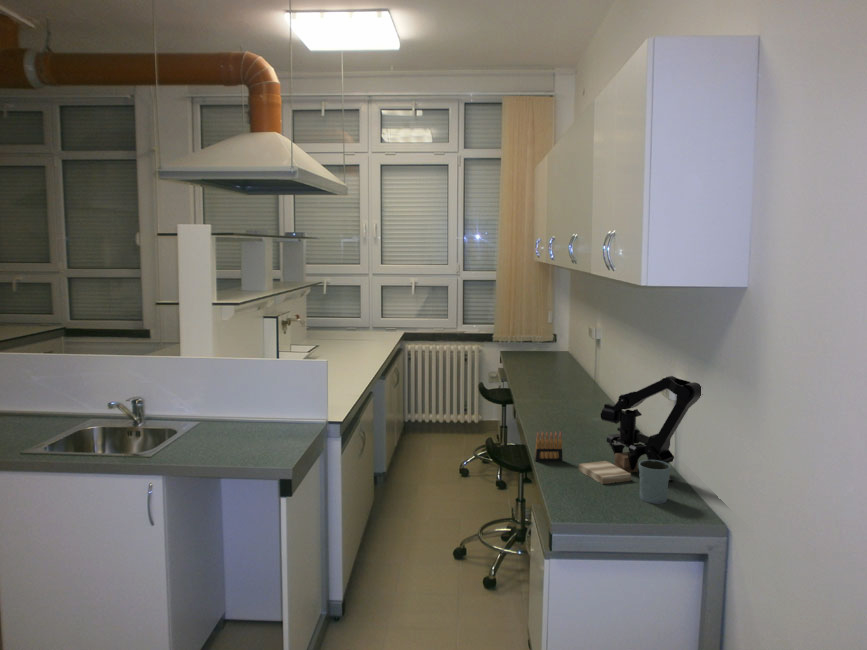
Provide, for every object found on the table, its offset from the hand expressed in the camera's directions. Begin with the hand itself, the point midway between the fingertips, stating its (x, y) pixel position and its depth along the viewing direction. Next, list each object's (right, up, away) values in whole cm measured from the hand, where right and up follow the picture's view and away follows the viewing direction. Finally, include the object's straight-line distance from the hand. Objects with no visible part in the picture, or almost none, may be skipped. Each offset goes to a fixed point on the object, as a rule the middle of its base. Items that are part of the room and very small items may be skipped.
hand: (626, 466), depth 256 cm
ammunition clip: (-27, 0, +11) cm, 29 cm away
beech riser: (-10, -2, -6) cm, 12 cm away
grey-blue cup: (+1, -5, -30) cm, 31 cm away
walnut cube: (0, -2, 0) cm, 2 cm away
